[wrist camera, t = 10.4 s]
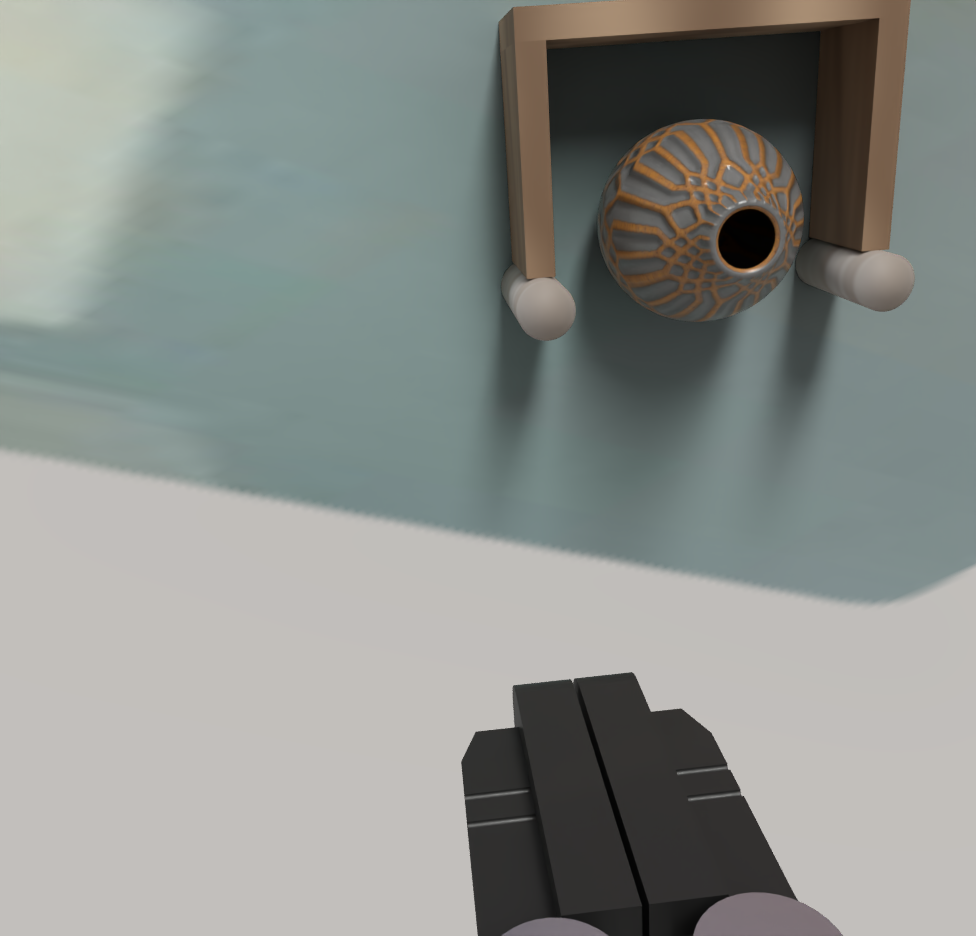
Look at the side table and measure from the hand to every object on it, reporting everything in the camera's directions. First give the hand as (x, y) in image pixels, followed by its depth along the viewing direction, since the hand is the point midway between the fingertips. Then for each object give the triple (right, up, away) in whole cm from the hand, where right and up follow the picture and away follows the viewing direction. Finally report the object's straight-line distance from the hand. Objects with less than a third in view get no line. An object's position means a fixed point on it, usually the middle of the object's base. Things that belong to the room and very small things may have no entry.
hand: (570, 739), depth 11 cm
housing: (+6, +16, +24) cm, 29 cm away
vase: (+6, +13, +25) cm, 29 cm away
